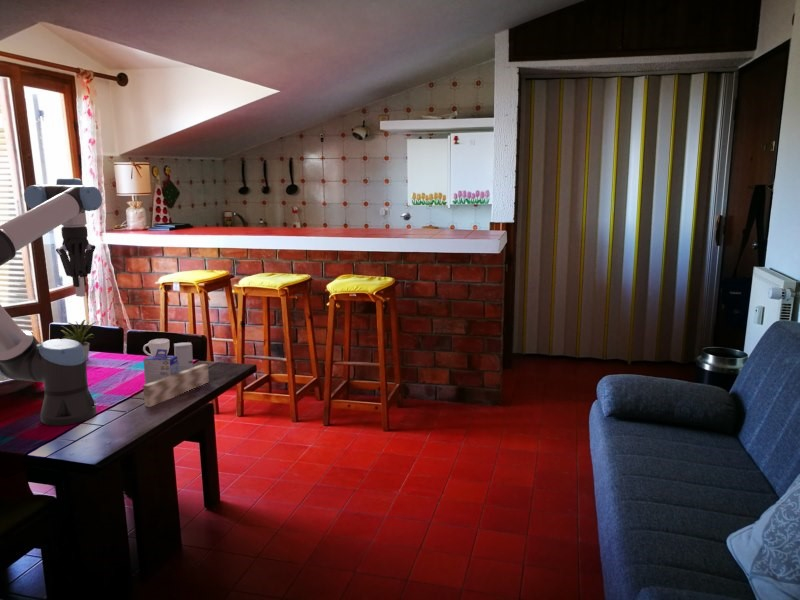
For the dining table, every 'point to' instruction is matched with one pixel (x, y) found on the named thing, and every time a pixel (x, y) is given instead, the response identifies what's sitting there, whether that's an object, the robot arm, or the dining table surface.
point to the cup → (157, 346)
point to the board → (175, 384)
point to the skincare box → (183, 355)
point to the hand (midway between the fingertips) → (80, 295)
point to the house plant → (79, 335)
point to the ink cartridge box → (159, 366)
